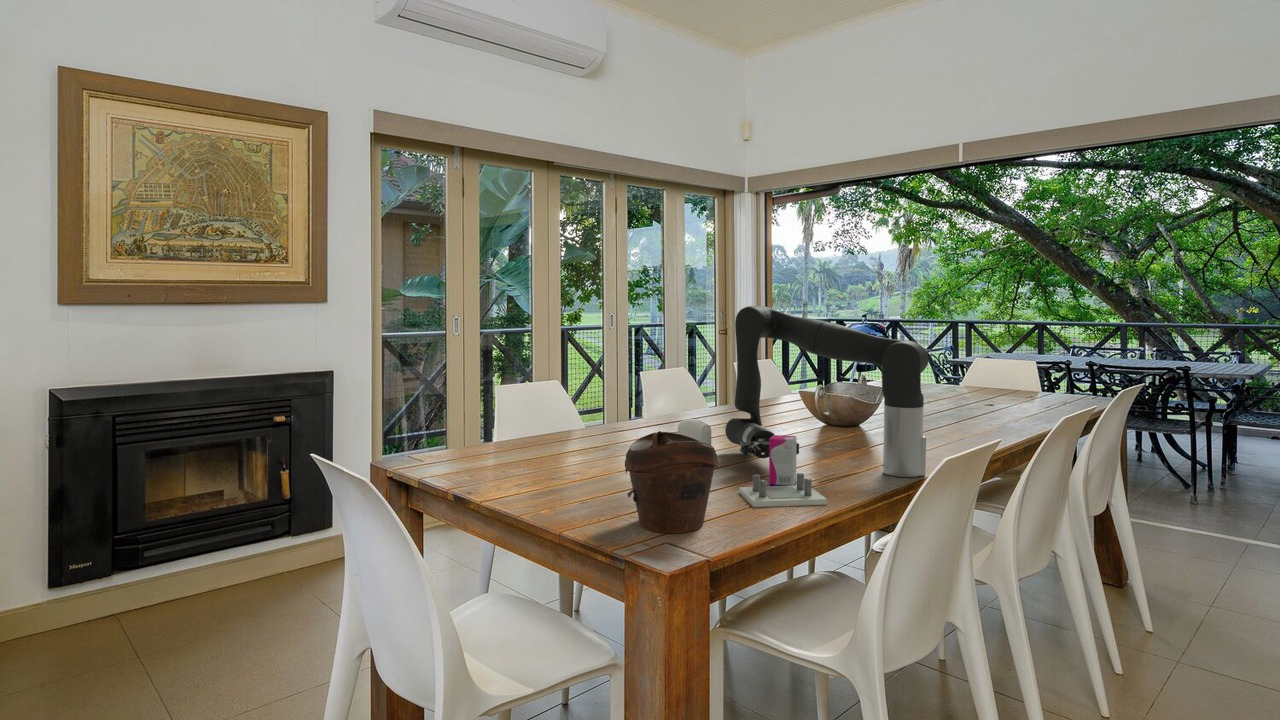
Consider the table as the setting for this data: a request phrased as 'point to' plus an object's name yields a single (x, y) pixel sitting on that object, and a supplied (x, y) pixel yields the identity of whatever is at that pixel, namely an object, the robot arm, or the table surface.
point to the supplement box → (782, 460)
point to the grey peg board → (782, 493)
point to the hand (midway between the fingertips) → (777, 453)
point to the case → (670, 481)
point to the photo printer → (695, 430)
